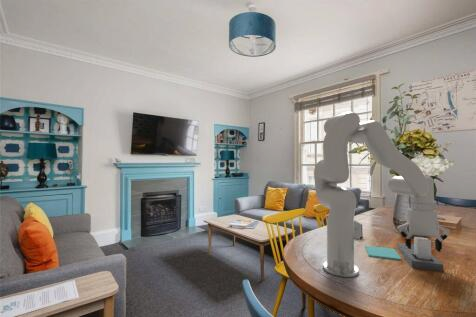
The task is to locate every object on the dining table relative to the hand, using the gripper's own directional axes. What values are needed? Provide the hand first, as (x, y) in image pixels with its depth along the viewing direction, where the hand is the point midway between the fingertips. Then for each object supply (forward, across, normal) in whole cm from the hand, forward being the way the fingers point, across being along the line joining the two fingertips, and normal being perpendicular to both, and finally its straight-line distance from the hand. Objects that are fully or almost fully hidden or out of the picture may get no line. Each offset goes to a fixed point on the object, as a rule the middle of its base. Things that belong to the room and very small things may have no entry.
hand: (423, 249), depth 97 cm
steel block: (+6, 0, 0) cm, 6 cm away
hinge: (+6, +27, -31) cm, 41 cm away
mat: (+6, +13, -7) cm, 16 cm away
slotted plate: (+6, 0, -6) cm, 8 cm away
